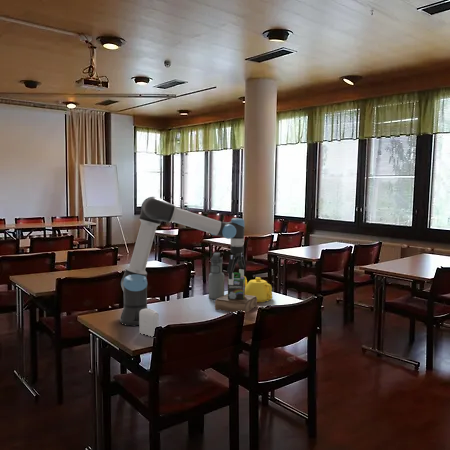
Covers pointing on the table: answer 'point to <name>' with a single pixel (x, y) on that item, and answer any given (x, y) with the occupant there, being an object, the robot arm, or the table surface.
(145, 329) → the photo printer
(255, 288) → the teapot
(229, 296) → the chalk box
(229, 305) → the walnut stand
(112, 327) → the table surface
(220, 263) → the water bottle
